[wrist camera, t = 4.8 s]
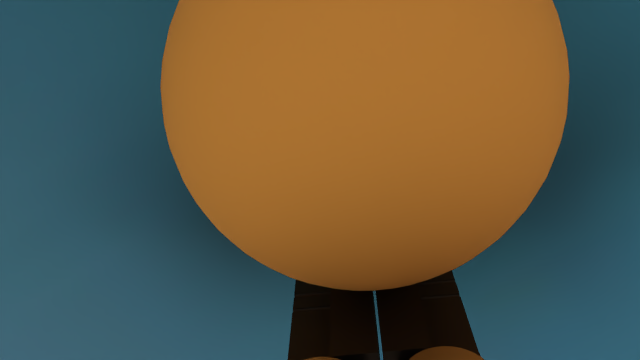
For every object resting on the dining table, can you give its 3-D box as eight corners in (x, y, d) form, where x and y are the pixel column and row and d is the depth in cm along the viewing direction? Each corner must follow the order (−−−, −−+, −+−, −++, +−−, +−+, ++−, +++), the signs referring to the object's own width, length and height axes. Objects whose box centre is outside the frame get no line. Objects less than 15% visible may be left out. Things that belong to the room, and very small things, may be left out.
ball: (222, 175, 13) (145, -115, 10) (480, 137, 13) (494, -165, 10) (198, 408, 8) (23, -24, 5) (615, 345, 8) (741, -127, 5)
